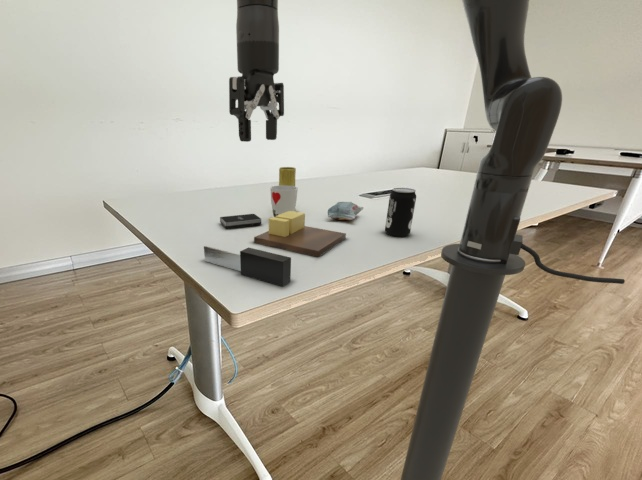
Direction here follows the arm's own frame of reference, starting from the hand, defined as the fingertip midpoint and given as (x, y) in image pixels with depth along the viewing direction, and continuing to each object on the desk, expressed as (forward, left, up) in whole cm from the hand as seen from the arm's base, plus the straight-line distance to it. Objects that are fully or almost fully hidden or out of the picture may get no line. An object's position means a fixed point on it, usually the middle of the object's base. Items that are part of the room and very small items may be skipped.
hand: (259, 140), depth 68 cm
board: (-2, -15, -25) cm, 29 cm away
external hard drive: (+20, -18, -25) cm, 37 cm away
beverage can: (-21, -35, -25) cm, 48 cm away
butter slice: (+3, -12, -23) cm, 26 cm away
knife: (-2, +9, -25) cm, 26 cm away
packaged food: (-3, -42, -25) cm, 49 cm away
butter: (+3, -18, -23) cm, 30 cm away
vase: (+17, -39, -25) cm, 49 cm away
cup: (+12, -29, -25) cm, 40 cm away
